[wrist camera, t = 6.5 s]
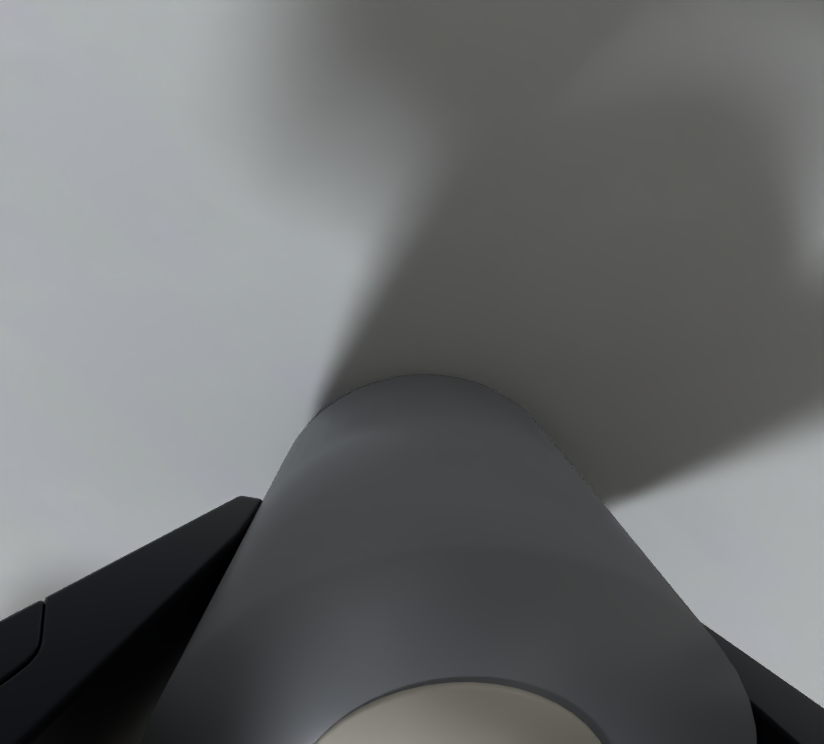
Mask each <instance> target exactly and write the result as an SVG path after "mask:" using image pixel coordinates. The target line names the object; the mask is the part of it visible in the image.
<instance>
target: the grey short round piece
mask: <svg viewBox="0 0 824 744" xmlns="http://www.w3.org/2000/svg"><path fill="white" fill-rule="evenodd" d="M141 744H757V736H756V726H755V722H754V717H753V713H752V709H751V704H750V700H749V698H748V695H747V693H746V691H745V689H744V686H743V684H742V682H741V679H740V677H739V675H738V673H737V671H736V669H735V668H734V666H733V665H732V663H731V662H730V660H729V659H728V658H727V656H726V655H725V653H724V652H723V650H722V649H721V647H720V646H719V644H718V643H717V642H716V641H715V639H714V638H713V637H712V636H711V635H710V633H709V632H708V631H707V630H706V628H705V627H704V626H703V625H702V624H701V622H700V621H699V620H698V619H697V617H696V616H695V615H694V614H693V613H692V611H691V610H690V609H689V608H688V606H687V605H686V604H685V603H684V602H683V600H682V599H681V598H680V597H679V595H678V594H677V593H676V592H675V591H674V589H673V588H672V587H671V586H670V584H669V583H668V582H667V581H666V580H665V578H664V577H663V576H662V575H661V573H660V572H659V571H658V570H657V569H656V567H655V566H654V565H653V564H652V563H651V561H650V560H649V559H648V558H647V556H646V555H645V554H644V553H643V552H642V550H641V549H640V548H639V547H638V545H637V544H636V543H635V542H634V541H633V539H632V538H631V537H630V536H629V534H628V533H627V532H626V531H625V530H624V528H623V527H622V526H621V525H620V523H619V522H618V521H617V520H616V519H615V517H614V516H613V515H612V514H611V512H610V511H609V510H608V509H607V508H606V506H605V505H604V504H603V503H602V501H601V500H600V499H599V498H598V497H597V495H596V494H595V493H594V492H593V491H592V489H591V488H590V487H589V486H588V484H587V483H586V482H585V481H584V480H583V478H582V477H581V476H580V475H579V473H578V472H577V471H576V470H575V469H574V467H573V466H572V465H571V464H570V462H569V461H568V460H567V459H566V458H565V456H564V455H563V454H562V453H561V451H560V450H559V449H558V448H557V447H556V445H555V444H554V443H553V442H552V440H551V439H550V438H549V437H548V436H547V434H546V433H545V432H544V431H543V429H542V428H541V427H540V426H539V425H538V424H537V423H536V422H535V421H534V420H533V418H532V417H531V416H530V415H529V414H528V413H527V412H526V411H524V410H523V409H522V408H521V407H519V406H518V405H517V404H516V403H514V402H513V401H512V400H510V399H508V398H507V397H505V396H503V395H501V394H500V393H498V392H496V391H494V390H492V389H490V388H487V387H485V386H483V385H480V384H478V383H475V382H471V381H467V380H464V379H460V378H455V377H448V376H441V375H410V376H401V377H394V378H390V379H386V380H382V381H378V382H374V383H372V384H369V385H366V386H364V387H361V388H359V389H356V390H354V391H352V392H350V393H349V394H347V395H345V396H343V397H341V398H339V399H338V400H336V401H335V402H334V403H332V404H331V405H329V406H328V407H327V408H325V409H324V410H323V411H321V412H320V413H319V414H318V415H317V416H316V417H315V418H314V419H313V420H312V421H311V422H310V423H309V424H308V425H307V426H306V427H305V429H304V430H303V431H302V432H301V434H300V435H299V436H298V437H297V439H296V440H295V442H294V444H293V445H292V447H291V449H290V450H289V452H288V454H287V456H286V458H285V460H284V461H283V463H282V465H281V467H280V469H279V471H278V473H277V475H276V477H275V479H274V481H273V482H272V484H271V486H270V488H269V490H268V492H267V494H266V496H265V498H264V500H263V502H262V503H261V505H260V507H259V509H258V511H257V513H256V515H255V517H254V519H253V521H252V523H251V525H250V526H249V528H248V530H247V532H246V534H245V536H244V538H243V540H242V542H241V544H240V546H239V547H238V549H237V551H236V553H235V555H234V557H233V559H232V561H231V563H230V565H229V567H228V569H227V570H226V572H225V574H224V576H223V578H222V580H221V582H220V584H219V586H218V588H217V590H216V591H215V593H214V595H213V597H212V599H211V601H210V603H209V605H208V607H207V609H206V611H205V612H204V614H203V616H202V618H201V620H200V622H199V624H198V626H197V628H196V630H195V632H194V634H193V635H192V637H191V639H190V641H189V643H188V645H187V647H186V649H185V651H184V653H183V655H182V656H181V658H180V660H179V662H178V664H177V666H176V668H175V670H174V672H173V674H172V676H171V677H170V679H169V681H168V683H167V685H166V687H165V689H164V691H163V693H162V695H161V697H160V699H159V700H158V702H157V704H156V706H155V708H154V710H153V712H152V714H151V717H150V720H149V722H148V725H147V728H146V730H145V733H144V736H143V738H142V741H141Z"/></svg>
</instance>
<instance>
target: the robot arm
mask: <svg viewBox="0 0 824 744" xmlns="http://www.w3.org/2000/svg"><path fill="white" fill-rule="evenodd" d="M262 502H263V501H262V500H261V499H258V498H252V497H246V496H239V497H236V498H235V499H233V500H231V501H229V502H227V503H225V504H223V505H221V506H219V507H217V508H215V509H214V510H212V511H210V512H208V513H206V514H204V515H202V516H200V517H198V518H196V519H194V520H193V521H191V522H189V523H187V524H185V525H183V526H181V527H179V528H177V529H175V530H174V531H172V532H170V533H168V534H166V535H164V536H162V537H160V538H158V539H156V540H154V541H153V542H151V543H149V544H147V545H145V546H143V547H141V548H139V549H137V550H135V551H134V552H132V553H130V554H128V555H126V556H124V557H122V558H120V559H118V560H116V561H114V562H113V563H111V564H109V565H107V566H105V567H103V568H101V569H99V570H97V571H95V572H93V573H92V574H90V575H88V576H86V577H84V578H82V579H80V580H78V581H76V582H74V583H73V584H71V585H69V586H67V587H65V588H63V589H61V590H59V591H57V592H55V593H53V594H52V595H50V596H48V597H46V598H45V601H44V602H43V601H38V602H36V603H34V604H32V605H30V606H28V607H26V608H24V609H23V610H21V611H19V612H17V613H15V614H13V615H11V616H9V617H7V618H5V619H3V620H1V621H0V744H141V741H142V738H143V736H144V733H145V730H146V728H147V725H148V722H149V720H150V717H151V714H152V712H153V710H154V708H155V706H156V704H157V702H158V700H159V699H160V697H161V695H162V693H163V691H164V689H165V687H166V685H167V683H168V681H169V679H170V677H171V676H172V674H173V672H174V670H175V668H176V666H177V664H178V662H179V660H180V658H181V656H182V655H183V653H184V651H185V649H186V647H187V645H188V643H189V641H190V639H191V637H192V635H193V634H194V632H195V630H196V628H197V626H198V624H199V622H200V620H201V618H202V616H203V614H204V612H205V611H206V609H207V607H208V605H209V603H210V601H211V599H212V597H213V595H214V593H215V591H216V590H217V588H218V586H219V584H220V582H221V580H222V578H223V576H224V574H225V572H226V570H227V569H228V567H229V565H230V563H231V561H232V559H233V557H234V555H235V553H236V551H237V549H238V547H239V546H240V544H241V542H242V540H243V538H244V536H245V534H246V532H247V530H248V528H249V526H250V525H251V523H252V521H253V519H254V517H255V515H256V513H257V511H258V509H259V507H260V505H261V503H262ZM701 624H702V625H703V626H704V627H705V628H706V630H707V631H708V632H709V633H710V635H711V636H712V637H713V638H714V639H715V641H716V642H717V643H718V644H719V646H720V647H721V649H722V650H723V652H724V653H725V655H726V656H727V658H728V659H729V660H730V662H731V663H732V665H733V666H734V668H735V669H736V671H737V673H738V675H739V677H740V679H741V682H742V684H743V686H744V689H745V691H746V693H747V695H748V698H749V700H750V704H751V709H752V713H753V717H754V722H755V726H756V736H757V744H824V708H822V707H821V706H820V705H818V704H817V703H815V702H814V701H812V700H811V699H810V698H808V697H807V696H805V695H804V694H802V693H801V692H800V691H798V690H797V689H795V688H794V687H793V686H791V685H790V684H788V683H787V682H785V681H784V680H783V679H781V678H780V677H778V676H777V675H775V674H774V673H773V672H771V671H770V670H768V669H767V668H765V667H764V666H763V665H761V664H760V663H758V662H757V661H755V660H754V659H753V658H751V657H750V656H748V655H747V654H745V653H744V652H743V651H741V650H740V649H738V648H737V647H735V646H734V645H733V644H731V643H730V642H728V641H727V640H725V639H724V638H723V637H721V636H720V635H718V634H717V633H715V632H714V631H713V630H711V629H710V628H708V627H707V626H705V625H704V624H703V623H701Z"/></svg>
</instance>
